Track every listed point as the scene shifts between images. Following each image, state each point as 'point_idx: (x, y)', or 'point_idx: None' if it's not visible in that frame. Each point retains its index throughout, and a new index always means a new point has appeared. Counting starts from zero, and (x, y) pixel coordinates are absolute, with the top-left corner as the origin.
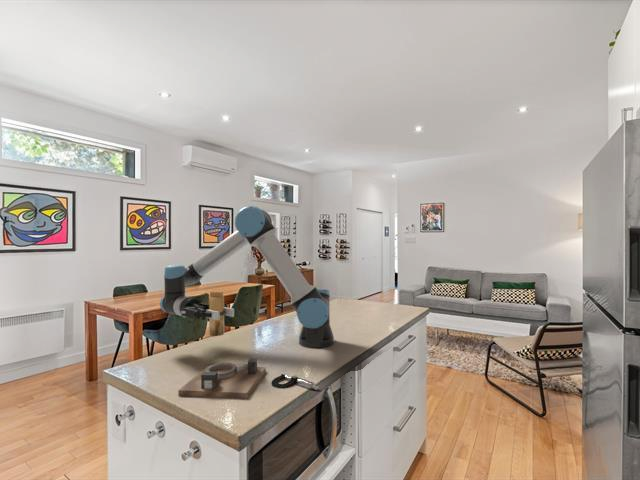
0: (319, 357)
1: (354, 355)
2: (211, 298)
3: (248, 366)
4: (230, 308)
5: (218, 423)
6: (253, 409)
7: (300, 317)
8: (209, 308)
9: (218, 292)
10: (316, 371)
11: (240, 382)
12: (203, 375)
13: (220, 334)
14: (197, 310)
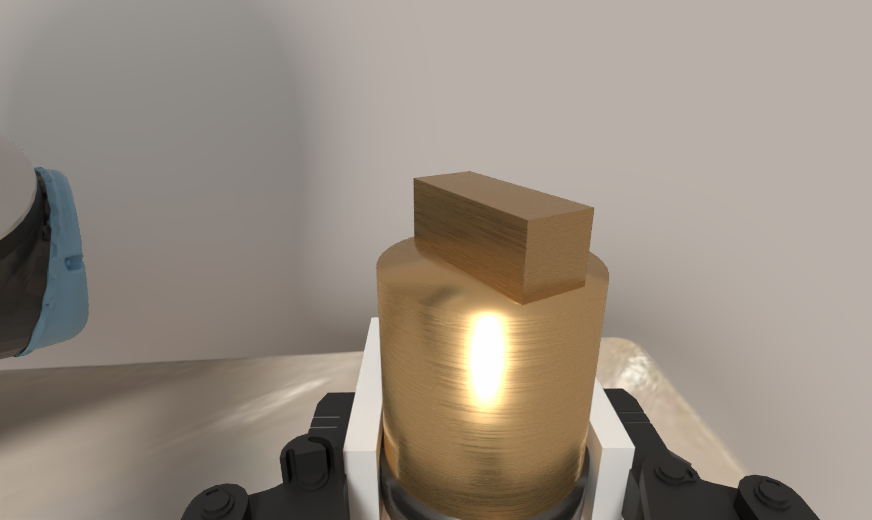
0: (102, 436)
1: (64, 371)
2: (590, 259)
3: None
4: (378, 338)
5: (659, 375)
6: None
7: (87, 288)
8: (589, 418)
9: (485, 179)
10: (266, 382)
11: None
12: (680, 459)
13: None
14: (780, 501)
